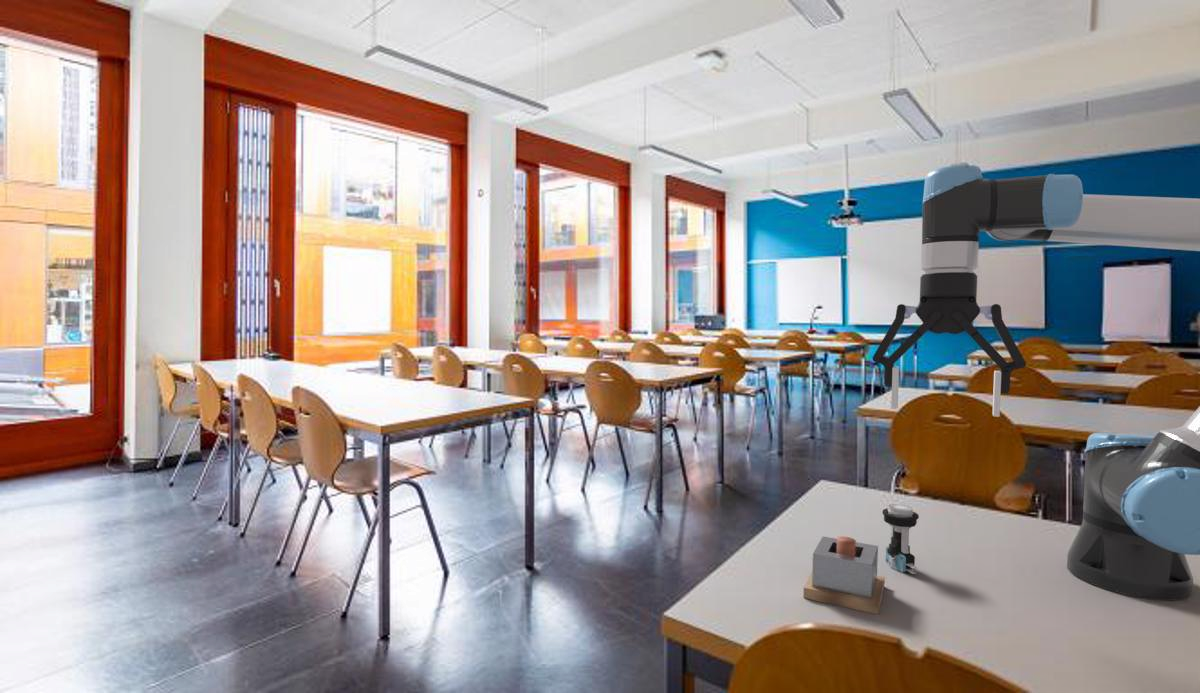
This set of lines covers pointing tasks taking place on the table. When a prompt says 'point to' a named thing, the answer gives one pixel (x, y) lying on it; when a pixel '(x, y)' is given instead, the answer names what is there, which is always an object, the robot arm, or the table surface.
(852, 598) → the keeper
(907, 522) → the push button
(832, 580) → the grey slotted box
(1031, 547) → the table surface
